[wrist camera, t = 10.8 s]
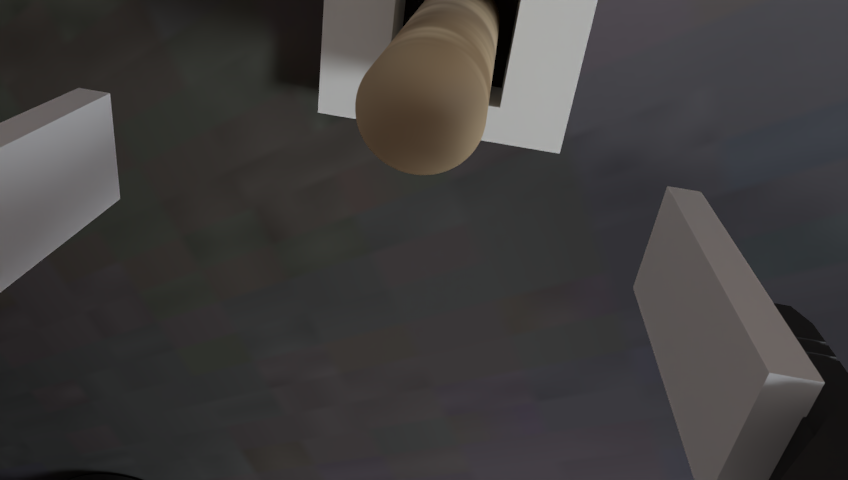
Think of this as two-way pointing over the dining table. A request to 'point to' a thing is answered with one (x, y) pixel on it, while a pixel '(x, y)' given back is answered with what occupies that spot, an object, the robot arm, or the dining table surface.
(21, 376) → the dining table surface
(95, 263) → the dining table surface
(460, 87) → the dowel
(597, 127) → the dining table surface
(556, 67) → the socket board
